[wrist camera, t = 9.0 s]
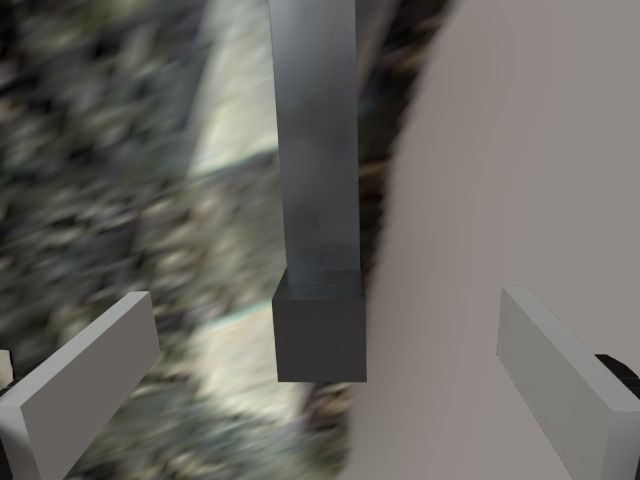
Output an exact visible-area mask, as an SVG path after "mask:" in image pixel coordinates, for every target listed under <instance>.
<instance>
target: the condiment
mask: <svg viewBox="0 0 640 480" xmlns="http://www.w3.org/2000/svg"><path fill="white" fill-rule="evenodd" d="M12 381H13V372H12V366H11V363H10V356H9V351H6V350H0V391H1V390H2V389H3V388H6V387H7V385H8V384H9V383H11V382H12Z"/></svg>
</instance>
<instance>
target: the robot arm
mask: <svg viewBox="0 0 640 480" xmlns="http://www.w3.org/2000/svg"><path fill="white" fill-rule="evenodd" d="M160 355H161V354H160V348H159V343H158V337H157V331H156V325H155V320H154V314H153V308H152V302H151V296H150V291H149V292H130V293H128V294H127V295H126V296H125V297H123V298H122V299H121V300H120V301H118V302H117V303H116V304H115V305H113V306H112V307H111V308H110V309H109V310H107V311H106V312H105V313H104V314H102V315H101V316H100V317H99V318H97V319H96V320H95V321H94V322H92V323H91V324H90V325H89V326H88V327H86V328H85V329H84V330H83V331H81V332H80V333H79V334H78V335H76V336H75V337H74V338H73V339H71V340H70V341H69V342H68V343H67V344H65V345H64V346H63V347H62V348H60V349H59V350H58V351H57V352H55V353H54V354H53V355H52V356H50V357H48V358H46V359H44V360H42V361H40V362H38V363H36V364H35V365H33V366H31V367H30V368H28V369H27V370H26V371H25V372H23V373H22V374H21V375H20V376H18V379H14V380H13V381H12V382H11V383H9V384H8V385H7V387H6V388H3V389H2V390H1V391H0V480H62V479H63V478H64V477H65V476H66V474H67V473H68V472H69V470H70V469H71V468H72V467H73V465H74V464H75V463H76V462H77V460H78V459H79V458H80V457H81V455H82V454H83V453H84V451H85V450H86V449H87V448H88V446H89V445H90V444H91V443H92V441H93V440H94V439H95V437H96V436H97V435H98V434H99V432H100V431H101V430H102V429H103V427H104V426H105V425H106V423H107V422H108V421H109V420H110V418H111V417H112V416H113V415H114V413H115V412H116V411H117V410H118V408H119V407H120V406H121V404H122V403H123V402H124V401H125V399H126V398H127V397H128V396H129V394H130V393H131V392H132V390H133V389H134V388H135V387H136V385H137V384H138V383H139V382H140V380H141V379H142V378H143V377H144V375H145V374H146V373H147V371H148V370H149V369H150V368H151V366H152V365H153V364H154V363H155V361H156V360H157V359H158V357H159V356H160ZM497 356H498V357H499V359H500V360H501V362H502V364H503V365H504V367H505V369H506V370H507V372H508V374H509V375H510V377H511V379H512V380H513V382H514V383H515V385H516V387H517V388H518V390H519V391H520V393H521V395H522V396H523V398H524V400H525V401H526V403H527V405H528V406H529V408H530V410H531V411H532V413H533V415H534V416H535V418H536V420H537V421H538V423H539V424H540V426H541V428H542V429H543V431H544V433H545V434H546V436H547V438H548V439H549V441H550V443H551V444H552V446H553V447H554V449H555V451H556V452H557V454H558V456H559V457H560V459H561V461H562V462H563V464H564V465H565V467H566V469H567V470H568V472H569V474H570V475H571V477H572V479H573V480H640V379H639V377H638V376H637V375H636V374H635V373H634V372H633V371H632V370H630V369H629V368H628V367H627V366H626V365H625V364H623V363H621V362H619V361H617V360H615V359H614V358H612V357H610V356H608V355H605V354H603V355H597V354H596V355H594V354H593V353H591V352H590V351H589V350H588V349H587V348H586V347H585V346H584V345H583V344H582V343H581V342H580V341H579V340H578V339H577V338H576V337H575V336H574V335H573V334H572V333H571V332H570V331H569V330H568V329H567V328H566V327H565V326H564V325H563V324H562V323H561V322H560V321H559V320H558V319H557V318H556V317H555V316H554V315H553V314H552V313H551V312H550V311H549V310H548V309H547V308H546V307H545V306H544V305H543V304H542V303H541V302H540V301H539V300H538V299H537V298H536V297H535V296H534V295H533V294H532V293H531V292H530V291H529V290H528V289H527V288H526V287H525V286H503V287H502V295H501V308H500V319H499V331H498V344H497Z"/></svg>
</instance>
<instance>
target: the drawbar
mask: <svg viewBox="0 0 640 480" xmlns="http://www.w3.org/2000/svg"><path fill="white" fill-rule="evenodd" d="M269 10H270V25H271V40H272V54H273V69H274V84H275V99H276V114H277V128H278V143H279V158H280V173H281V188H282V202H283V217H284V232H285V247H286V262H287V267H286V269H285V272H284V274H283V276H282V278H281V281H280V283H279V285H278V287H277V290H276V292H275V294H274V296H273V299H272V311H273V324H274V336H275V349H276V362H277V374H278V382H366V381H367V376H366V315H365V291H364V279H363V267H362V255H361V244H360V231H359V180H358V128H357V77H356V26H355V0H269Z"/></svg>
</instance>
